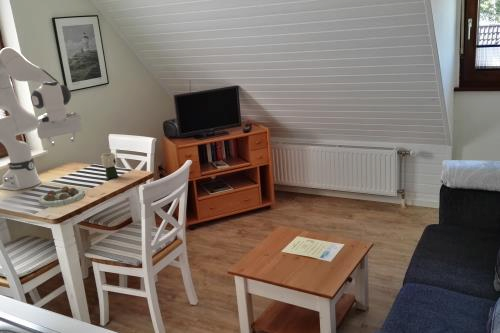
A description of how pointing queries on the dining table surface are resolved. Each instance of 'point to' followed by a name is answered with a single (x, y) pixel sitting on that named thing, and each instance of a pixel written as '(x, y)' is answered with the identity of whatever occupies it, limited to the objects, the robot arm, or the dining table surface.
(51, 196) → the seated bead
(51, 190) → the seated bead
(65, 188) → the bead
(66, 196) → the seated bead
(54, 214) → the dining table surface
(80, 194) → the groove tray
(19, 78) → the robot arm
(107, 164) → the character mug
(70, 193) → the bead
